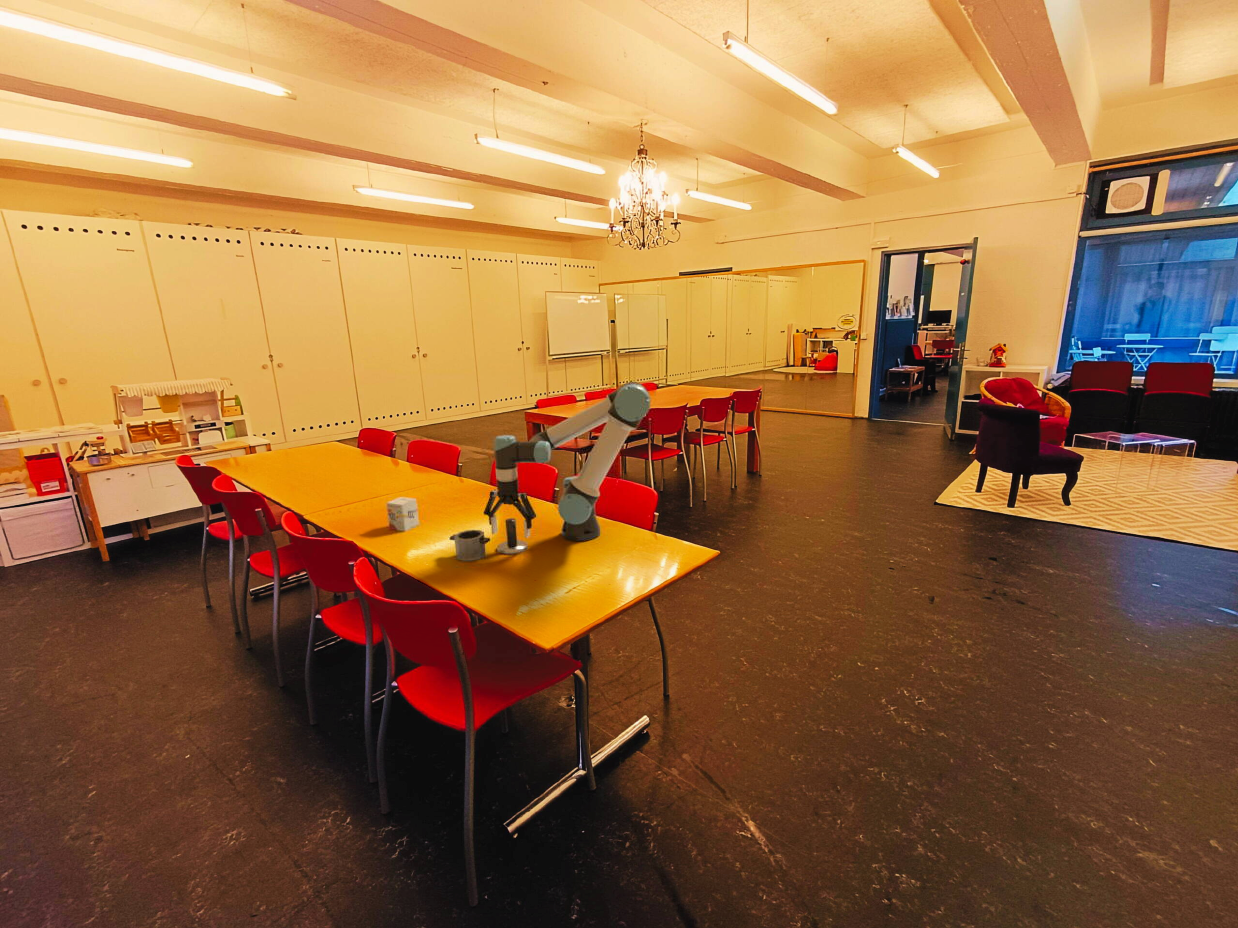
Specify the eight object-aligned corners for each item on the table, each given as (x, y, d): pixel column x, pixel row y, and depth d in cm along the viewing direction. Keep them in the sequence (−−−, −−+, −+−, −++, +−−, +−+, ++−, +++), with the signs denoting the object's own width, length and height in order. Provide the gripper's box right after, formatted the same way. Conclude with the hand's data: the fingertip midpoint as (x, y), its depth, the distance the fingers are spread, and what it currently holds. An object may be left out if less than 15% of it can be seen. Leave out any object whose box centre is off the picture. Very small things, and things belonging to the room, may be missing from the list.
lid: (533, 544, 201) (531, 516, 199) (518, 556, 191) (516, 526, 188) (507, 541, 205) (504, 514, 202) (491, 552, 195) (489, 523, 192)
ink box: (388, 529, 222) (385, 502, 219) (404, 522, 229) (400, 496, 227) (405, 531, 218) (401, 504, 216) (420, 524, 226) (416, 498, 223)
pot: (496, 552, 194) (494, 531, 193) (481, 563, 185) (479, 541, 183) (462, 548, 199) (460, 528, 197) (445, 559, 190) (443, 537, 188)
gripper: (543, 478, 191) (546, 534, 196) (482, 474, 199) (486, 528, 204) (533, 484, 184) (536, 542, 189) (471, 479, 192) (475, 535, 197)
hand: (511, 534), depth 197 cm, fingers open, 13 cm apart
